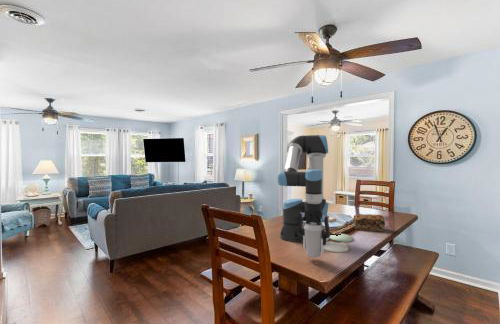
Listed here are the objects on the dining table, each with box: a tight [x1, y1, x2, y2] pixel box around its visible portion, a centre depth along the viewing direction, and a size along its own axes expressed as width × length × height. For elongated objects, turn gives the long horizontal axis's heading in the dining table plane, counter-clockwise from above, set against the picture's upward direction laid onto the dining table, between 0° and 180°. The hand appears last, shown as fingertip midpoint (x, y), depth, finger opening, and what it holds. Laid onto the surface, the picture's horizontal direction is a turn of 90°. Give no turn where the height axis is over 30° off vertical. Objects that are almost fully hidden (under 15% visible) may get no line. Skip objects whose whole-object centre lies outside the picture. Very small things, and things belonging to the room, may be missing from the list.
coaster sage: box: [329, 233, 354, 243], centre depth 150 cm, size 14×14×1 cm
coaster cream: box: [324, 241, 349, 254], centre depth 135 cm, size 14×14×1 cm
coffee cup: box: [302, 221, 325, 258], centre depth 118 cm, size 10×10×15 cm
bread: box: [353, 213, 386, 232], centre depth 170 cm, size 19×11×10 cm, turn 71°
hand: (313, 249), depth 118 cm, fingers closed on coffee cup, 8 cm apart
